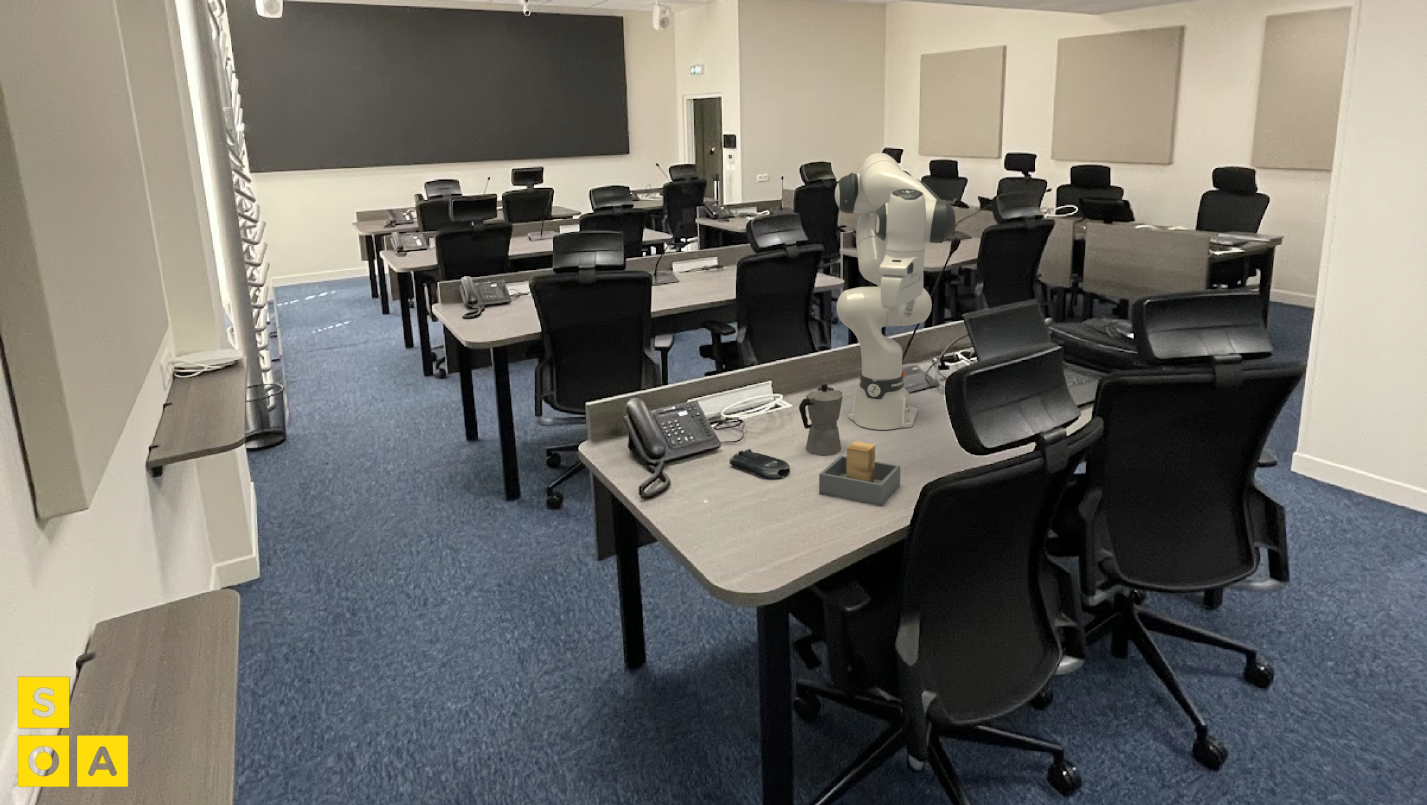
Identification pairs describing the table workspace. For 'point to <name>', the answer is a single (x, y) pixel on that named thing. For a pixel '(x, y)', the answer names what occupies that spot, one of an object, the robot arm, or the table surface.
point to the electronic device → (759, 464)
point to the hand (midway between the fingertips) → (902, 320)
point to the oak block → (861, 461)
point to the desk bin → (859, 482)
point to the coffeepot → (822, 421)
